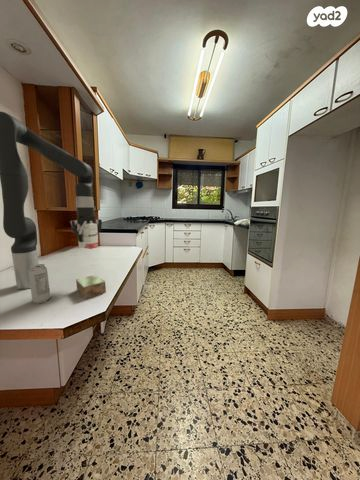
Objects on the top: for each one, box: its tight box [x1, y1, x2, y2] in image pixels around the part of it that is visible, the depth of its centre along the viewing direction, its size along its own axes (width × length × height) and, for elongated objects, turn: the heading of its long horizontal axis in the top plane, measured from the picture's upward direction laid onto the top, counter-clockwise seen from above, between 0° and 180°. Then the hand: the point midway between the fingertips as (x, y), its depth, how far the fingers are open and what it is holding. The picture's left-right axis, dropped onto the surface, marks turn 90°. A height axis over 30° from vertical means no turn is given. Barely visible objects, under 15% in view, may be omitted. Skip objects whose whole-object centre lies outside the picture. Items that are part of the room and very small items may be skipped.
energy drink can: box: [28, 263, 51, 304], centre depth 76 cm, size 6×6×15 cm
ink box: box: [76, 223, 99, 250], centre depth 92 cm, size 9×5×12 cm, turn 66°
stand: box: [75, 274, 107, 299], centre depth 86 cm, size 9×11×5 cm
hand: (88, 240), depth 92 cm, fingers closed on ink box, 6 cm apart
